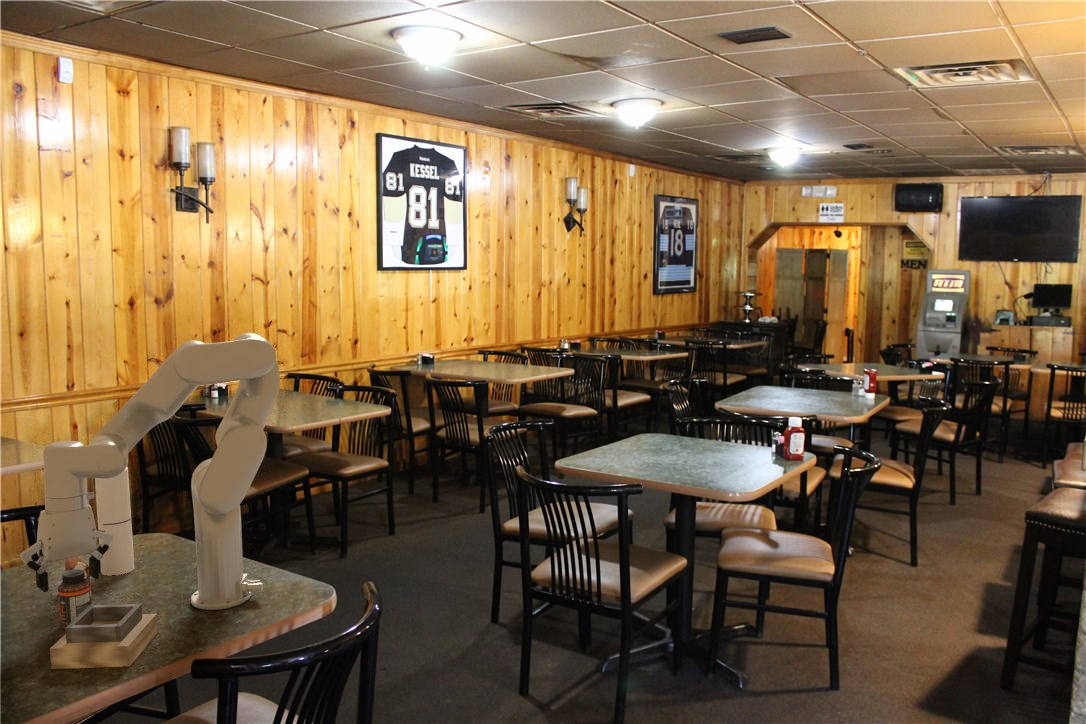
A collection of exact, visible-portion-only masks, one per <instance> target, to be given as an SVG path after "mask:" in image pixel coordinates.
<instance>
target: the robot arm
mask: <svg viewBox="0 0 1086 724" xmlns="http://www.w3.org/2000/svg"><path fill="white" fill-rule="evenodd" d="M236 381H239V382H238V386H237V389H236V392H235V394H234V396H233V399H232V401H231V402H230V405H229V406H228V408H227V411H226V413H225V414H224V417H223V418H222V420H221V422H220V424H219V425H218V427H217V430H216V432H215V443H216V445H217V446H216V447H217V448H216V450H215V452H214V454H213V456H212V457H211V458H208V459H206V460H203V461H202V462H200V463H199V464H198V465H197V466H196V468H195V469H194V471H193V472H192V477H191V483H190V484H191V497H192V506H193V519H194V521H193V522H194V532H195V533H194V536H195V538H194V540H195V553H196V554H195V555H196V575H197V590H196V591H195V592H194V593H193V594H192V595H191V596H190V602H191V603H190V604H191V605H192V606H193V607H195V608H197V609H200V610H208V611H210V610H211V611H213V610H214V611H215V610H225V609H229V608H230V609H231V608H233V606H234V607H237V606H239V605H241V603H242V604H244V603H245V602H247V601H249V599H250V598H251V597H250V596H252V595H253V593H262V592H263V591H264V583H263V582H261V580H260V579H254V580H250V579H249V578H248V573H244V559H243V556H244V555H243V537H242V535H243V533H242V515H241V505H240V504H241V503H242V501H244V498H245V497H246V495H247V493H248V491H249V489H250V487H251V485H252V483H253V481H254V480H255V479H254V478H255V477H256V475H257V472H258V470H259V468H260V466H261V465H262V462H263V460H264V457H265V454H266V452H267V445H268V440H267V436H266V434H265V431H264V429H265V427H266V424H267V422H268V420H269V417H270V415H271V413H272V410H273V408H274V407H275V404H276V401H277V398H278V395H279V392H280V388H281V387H280V386H281V373H280V368H279V364H278V361H277V352H276V349H275V347H274V346H273V344H271V342H270V341H269V340H267V339H266V338H264V337H263V336H261V335H259V334H256V333H253V332H245V333H242V334H239V335H237V336H236V337H235V338H234V339H233V340H229V341H221V342H210V343H205V342H203V341H200V340H194V339H193V340H186V341H185V342H182V343H181V344H180V345H178V347H176V349H174V351H173V352H171V354H169V356H168V357H167V358H166V359H165V360H164V362H163V363H161V365H160V366H159V367H158V368H157V370H155V372H154V373H153V374H152V375H151V376H150V377H149V378H148V379H147V380H146V382H144V383H143V385H142V386H141V387H140V388H139V389H138V390H137V391H136V392H135V393H134V394H133V395H132V396H131V397H130V398H129V399H128V401H127V402H125V404H124V405H123V406H122V407H121V408H120V409H119V410H118V411H117V412H116V413H115V414H114V415H113V416H112V417H111V418H110V419H109V420H108V421H107V423H105V425H104V426H103V427H102V428H101V429H100V430H99V431H98V433H97V434H96V435H95V436H94V437H93V438H92V440H91V441H90V442H89V444H87V445H85V444H84V443H82V442H81V441H76V440H61V441H54V442H51V443H48V444H47V445H46V446H45V447H44V449H43V454H42V457H43V458H42V460H43V462H42V463H43V482H44V508H45V509H44V510H43V509H42V510H41V511H40V513H39V518H38V524H37V525H38V526H37V535H36V536H37V537H36V542H35V543H34V544H32V545H31V546H29V547H28V548H26V549H25V550H24V551H22V552H20V553H19V557H20V559H21V560H22V561H23V563H24V564H25V565H26V566H27V567H28V568H30V569H32V570H33V571H34V572H35V583H36V587H37V588H38V589H39V590H40V591H42V592H43V593H47V592H48V591H49V573H48V572H47V571H46V570H47V569H48V567H50V565H51V563H55V562H58V561H64V560H67V559H68V558H73V557H81V556H85V555H88V554H89V555H90V556H89V558H88V566H89V575H90V577H91V578H92V579H94V580H98V579H99V578H100V574H101V559H102V558H103V555H104V554H105V552H106V551H107V550H108V549H109V545H110V543H111V541H112V539H113V536H112V535H111V534H108V533H104V532H100V531H98V530H97V528H96V527H97V526H96V520H95V518H94V513H93V509H92V506H91V505H90V501H91V500H94V499H95V498H96V494H95V492H94V491H92V492H89V491H88V479H95V478H100V479H107V478H113V477H116V476H118V475H120V474H121V473H122V472H123V471H124V470H125V469H126V467H128V465H129V456H128V455H129V453H130V452H132V449H134V447H136V445H137V444H138V443H139V442H140V441H141V440H142V438H143V437H145V435H146V434H147V433H148V432H150V431H151V430H152V429H153V428H154V427H155V426H157V425H158V424H159V425H160V424H161V423H163V422H165V421H168V420H169V419H170V418H171V417H172V416H174V415H175V414H176V412H177V411H178V410H180V409H181V407H182V405H184V403H186V401H187V400H188V398H190V396H191V395H193V393H194V392H195V391H196V390H197V389H198V387H200V386H205V385H208V386H209V385H215V384H224V383H230V382H236ZM99 538H101V539H103V541H102V544H101V545H100V546H98V539H99ZM35 554H37V555H38V557H39V558H38V559H37V561H36V562H35V561H34V560H33V558H32V556H33V555H35ZM251 594H252V595H251ZM246 600H247V601H246ZM243 602H244V603H243ZM236 605H237V606H236Z"/></svg>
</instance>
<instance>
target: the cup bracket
mask: <svg viewBox="0 0 1086 724" xmlns="http://www.w3.org/2000/svg"><path fill="white" fill-rule="evenodd" d="M158 628H159V627H158V615H157V613H143V604H142V603H134V604H133V603H132V604H131V603H130V604H129V603H128V604H99V605H98V604H97V605H96V604H95V605H93V604H92V605H91V606H88V607H87V608H86V609H85V610H84V611H83V612H82V613H81V614H80V615H79V616H78V617H77V618H75V619H74V620H73V621H72V622H71V623H70V624H69V625H68V626H67V627H66V628H65V629H64V631H65V634H64V635H63V636H61V637H60V638H59V639H58V640H57V641H56V642H55V643H54V644H53V645H52V646H51V647H50V648H49V655H50V656H49V657H50V667H51V670H58V669H59V670H60V669H62V670H63V669H66V670H67V669H85V668H86V669H87V668H88V669H91V668H115V667H116V668H120V667H121V668H123V667H124V666H125V667H131V665H132V664H133V663H134V662H135V661H136V659H137V658H138V657H139V656H140V655H141V653H142V652H143V651H144V650H145V649H146V647H147V646H148V645H149V644H150V643H151V641H152V640H154V638H155V637H156V635H157V634H158V633H159V631H158V630H159V629H158Z"/></svg>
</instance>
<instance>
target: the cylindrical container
mask: <svg viewBox="0 0 1086 724" xmlns="http://www.w3.org/2000/svg"><path fill="white" fill-rule="evenodd" d="M129 481H130V480H129V467H128V466H127V467H126V469H125V470H124V471H123V472H122V473H121V474H120V475H118V476H116V477H113V478H107V479H100V478H94V486H95V488H94V489H95V500H96V513H97V516H96V517H97V529H98V530H97V531H100V532H104V533H108V534H111V535H112V536H113V539H112V541H111V543H110V545H109V549H108V550H107V551H106V552H105V554H104V555H103V558H102V559H101V560H100V563H101V572H100V574H101V575H103V576H106V575H107V576H109V577H113V576H112V575H116V576H121V574H122V575H125V573H126V574H127V573H130V572H132V571H134V570H135V556H134V543H133V542H134V541H133V540H134V539H133V529H132V528H133V527H132V526H133V525H132V524H133V523H132V511H131V493H130V482H129ZM102 541H103V539H101V538H98V543H99V544H98V545H99V546H100V545H101V544H102ZM99 546H98V547H99Z"/></svg>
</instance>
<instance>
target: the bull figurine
mask: <svg viewBox="0 0 1086 724" xmlns="http://www.w3.org/2000/svg"><path fill="white" fill-rule="evenodd" d="M64 567H65V569H64V570H65V572H66V571H69V570H73V569H82V570H84V574H85V577H84V578H85V579H88V580H89V581H91V578H90V577H91V576H90V575H89V564H88V563H86V562H85V561H84V560H83V559H82V558H80V556H77V557H73V558H68V559H65V563H64ZM92 595H93V593H92V592H91V596H92Z"/></svg>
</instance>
